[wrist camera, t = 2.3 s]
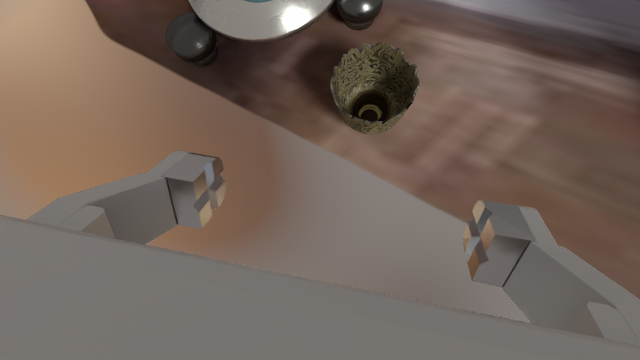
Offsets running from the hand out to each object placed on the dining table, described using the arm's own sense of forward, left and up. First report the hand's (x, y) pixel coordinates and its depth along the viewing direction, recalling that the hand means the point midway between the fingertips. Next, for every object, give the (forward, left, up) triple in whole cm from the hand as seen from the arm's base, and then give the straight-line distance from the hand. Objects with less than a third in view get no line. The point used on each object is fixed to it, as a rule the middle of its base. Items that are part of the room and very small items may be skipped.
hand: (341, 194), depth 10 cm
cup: (-5, -12, -23) cm, 26 cm away
